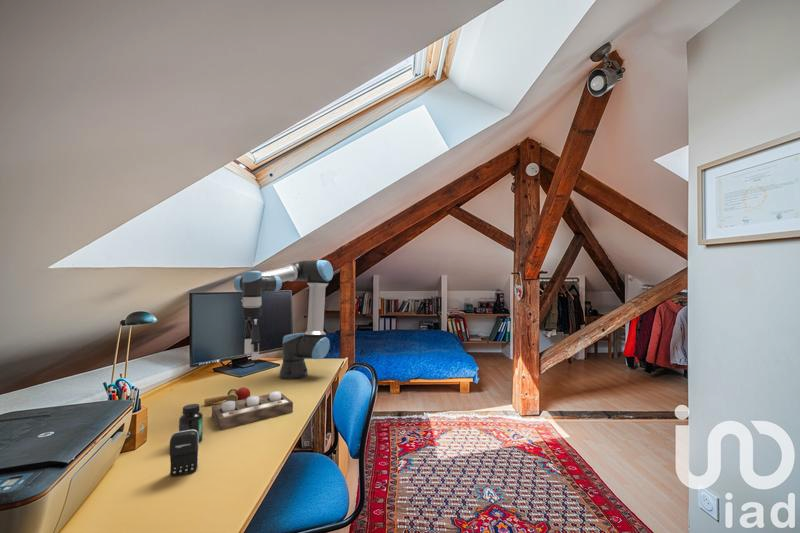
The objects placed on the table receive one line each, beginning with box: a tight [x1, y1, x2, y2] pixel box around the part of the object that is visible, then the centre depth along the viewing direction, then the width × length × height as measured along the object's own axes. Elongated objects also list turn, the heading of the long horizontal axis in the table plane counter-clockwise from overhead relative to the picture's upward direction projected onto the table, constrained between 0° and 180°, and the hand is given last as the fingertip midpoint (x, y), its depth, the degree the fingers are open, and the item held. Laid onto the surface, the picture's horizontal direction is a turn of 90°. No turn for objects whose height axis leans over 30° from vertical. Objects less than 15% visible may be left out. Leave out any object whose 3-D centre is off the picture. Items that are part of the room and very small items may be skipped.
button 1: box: [221, 400, 235, 413], centre depth 135 cm, size 5×5×4 cm
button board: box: [211, 392, 294, 431], centre depth 140 cm, size 27×16×4 cm, turn 128°
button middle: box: [247, 395, 260, 408], centre depth 140 cm, size 5×5×4 cm
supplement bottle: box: [178, 403, 204, 443], centre depth 117 cm, size 7×7×12 cm
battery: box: [168, 429, 199, 477], centre depth 98 cm, size 7×4×11 cm, turn 114°
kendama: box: [204, 386, 251, 407], centre depth 153 cm, size 8×6×18 cm
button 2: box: [269, 390, 282, 402], centre depth 146 cm, size 5×5×4 cm
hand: (251, 356), depth 148 cm, fingers open, 13 cm apart
